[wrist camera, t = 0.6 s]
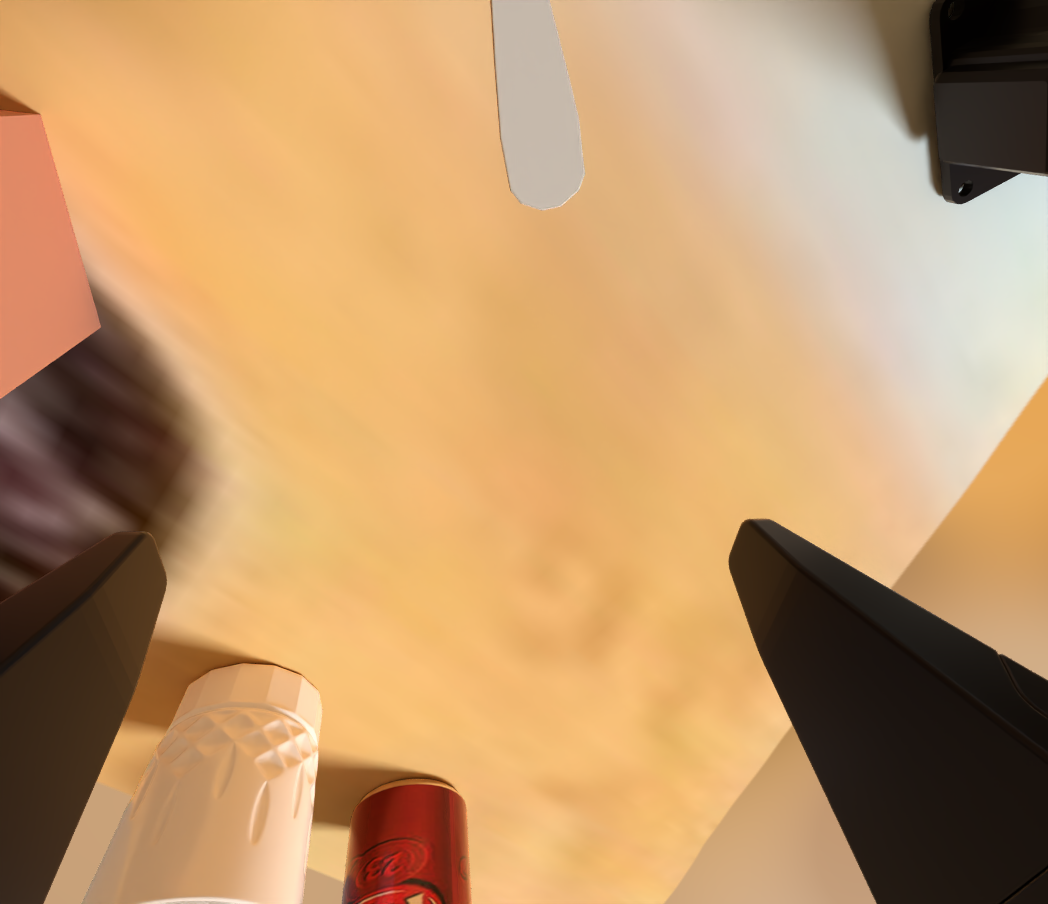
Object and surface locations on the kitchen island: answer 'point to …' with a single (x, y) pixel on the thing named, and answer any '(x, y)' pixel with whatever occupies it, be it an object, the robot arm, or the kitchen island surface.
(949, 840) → the robot arm
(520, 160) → the butter knife
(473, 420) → the kitchen island surface
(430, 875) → the soda can
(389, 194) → the kitchen island surface
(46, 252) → the terracotta block
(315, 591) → the kitchen island surface
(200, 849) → the white cup
